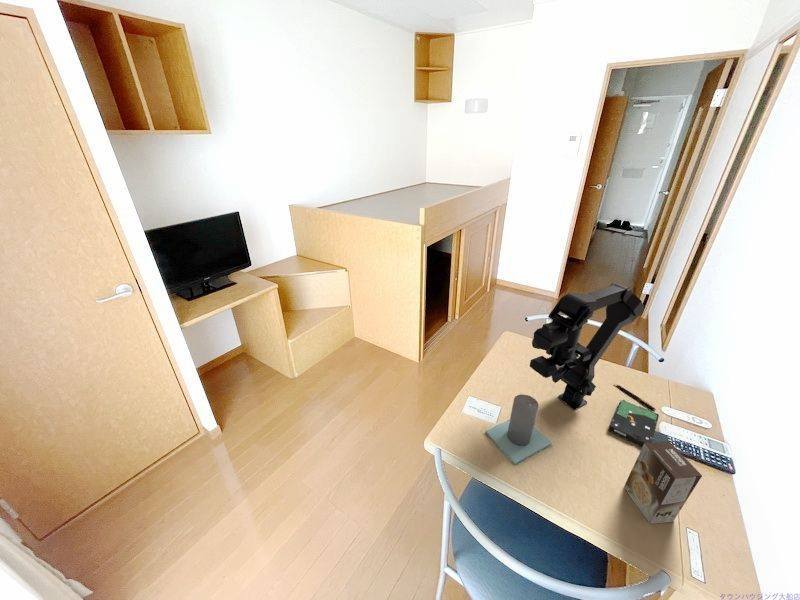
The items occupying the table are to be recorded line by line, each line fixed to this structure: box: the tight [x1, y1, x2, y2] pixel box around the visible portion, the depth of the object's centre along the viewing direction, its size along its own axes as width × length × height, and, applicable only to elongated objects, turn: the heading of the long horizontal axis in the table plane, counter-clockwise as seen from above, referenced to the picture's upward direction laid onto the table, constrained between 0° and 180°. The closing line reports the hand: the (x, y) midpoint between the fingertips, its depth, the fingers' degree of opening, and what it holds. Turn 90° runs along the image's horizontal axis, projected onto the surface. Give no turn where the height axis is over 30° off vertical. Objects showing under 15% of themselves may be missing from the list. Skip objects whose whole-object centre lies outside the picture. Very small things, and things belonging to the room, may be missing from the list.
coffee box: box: [623, 440, 703, 525], centre depth 75 cm, size 9×6×16 cm
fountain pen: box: [613, 382, 657, 411], centre depth 109 cm, size 14×1×2 cm, turn 26°
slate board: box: [485, 418, 553, 466], centre depth 95 cm, size 14×12×1 cm
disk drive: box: [607, 399, 660, 448], centre depth 99 cm, size 10×3×15 cm
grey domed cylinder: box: [507, 393, 540, 446], centre depth 92 cm, size 6×6×13 cm
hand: (554, 381), depth 97 cm, fingers closed
